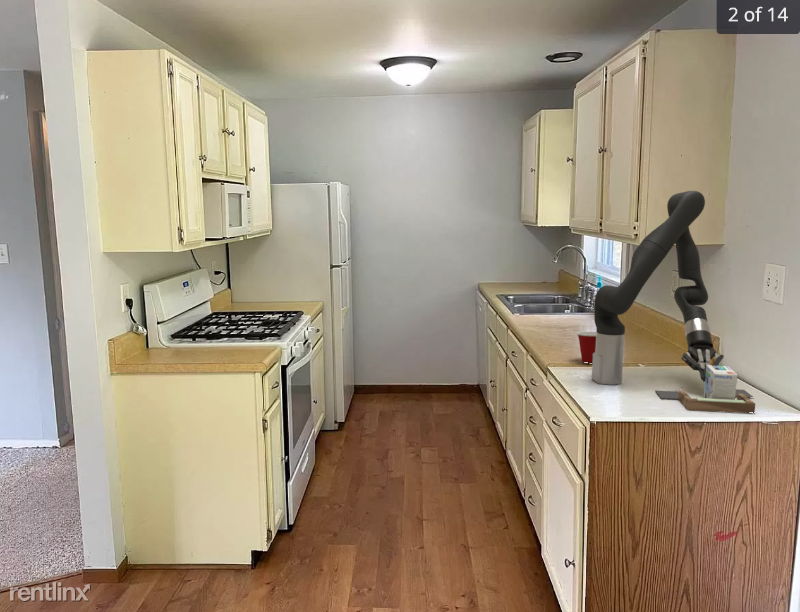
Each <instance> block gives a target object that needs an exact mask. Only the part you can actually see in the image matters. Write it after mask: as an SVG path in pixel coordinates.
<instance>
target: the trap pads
mask: <svg viewBox="0 0 800 612" xmlns="http://www.w3.org/2000/svg"><path fill="white" fill-rule="evenodd" d="M738 393H739V394H744V395H745V396H746V397H748V398H749V399H751V398H750V397H754V396H753V395H752V394H750V393H749V392H748V391H746V390H745V389H737V388H736V394H735V397H737V394H738ZM655 394H656V396H658V397H659V398H660V400H665V399H666V401H667V400H669V401H670V400H671V401H679V390H678V391H677V390H676V391H675V390H674V391H673V390H658V389H657V390H655Z"/></svg>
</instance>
